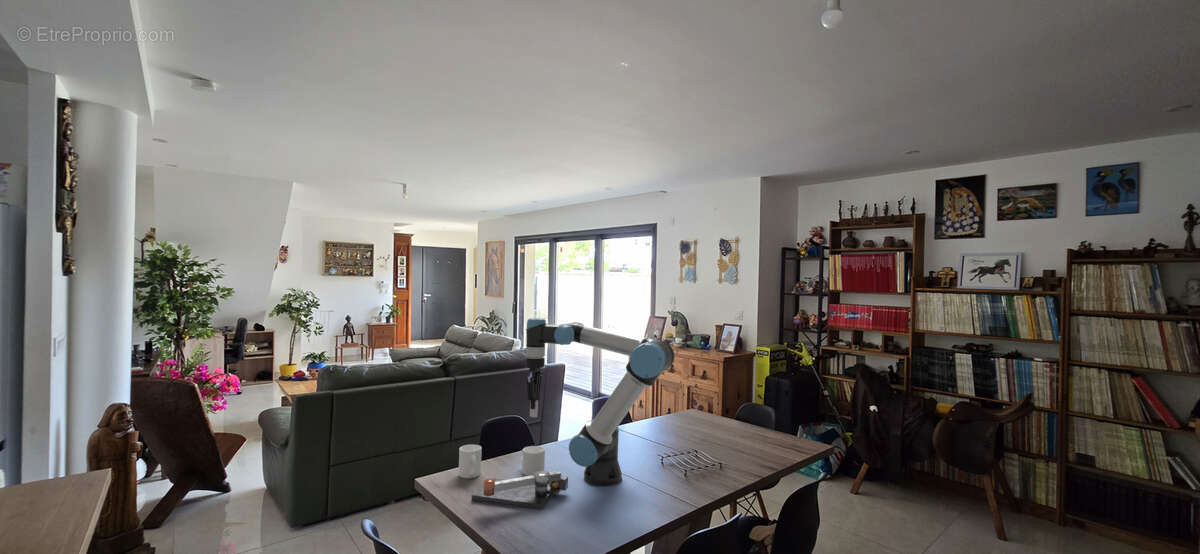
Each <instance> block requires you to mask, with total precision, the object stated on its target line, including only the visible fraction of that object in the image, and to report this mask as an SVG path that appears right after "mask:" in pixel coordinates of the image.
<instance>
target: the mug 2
mask: <svg viewBox="0 0 1200 554" xmlns="http://www.w3.org/2000/svg"><path fill="white" fill-rule="evenodd" d="M545 455H546V448H545V447H542V446H540V445H529V446H525V447H523V448H522V450H521V452H520V457H519V458H520V464H521V468H522V470H521V473H522V474H523V475H524V476H530V475H533V473H535V472H537V471H545V466H546V465H545V464H546V463H545V459H546V458H545V457H546V456H545Z"/></svg>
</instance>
